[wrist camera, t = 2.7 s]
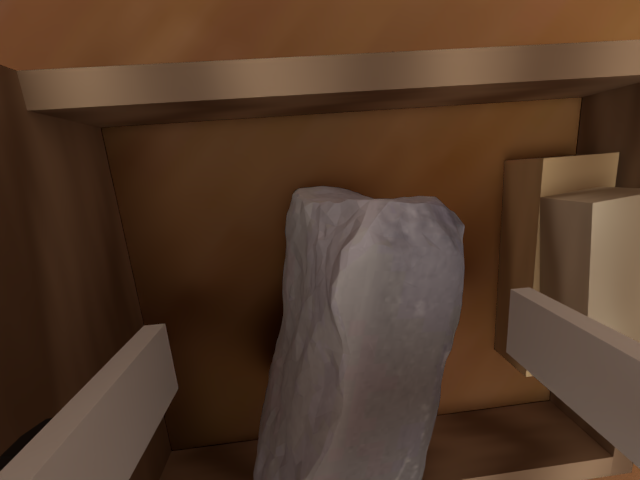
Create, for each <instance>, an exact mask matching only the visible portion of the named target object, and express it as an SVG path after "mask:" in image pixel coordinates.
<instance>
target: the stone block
mask: <svg viewBox="0 0 640 480" xmlns="http://www.w3.org/2000/svg"><path fill="white" fill-rule="evenodd" d="M464 228H465V226H464V224H463V223H462V222H461V220H460V219H459V217H458V216H457V215H456V214H455V213H454V212H453V211H451V210H449V209H448V208H447V207H446V206H445V205H444V204H443V203H442V202H441V201H440V200H439V199H438V198H436V197H429V196H415V197H401V198H395V199H373V198H371V197H367V196H363V195H361V194H359V193H357V192H353V191H350V190H347V189H343V188H338V187H328V186H317V187H308V188H298V189H297V190H295V192H294V193H293V195H292V200H291V204H290V208H289V210H288V212H287V217H286V227H285V236H286V258H285V263H284V270H283V291H282V293H283V319H282V325H281V329H280V333H279V337H278V339H277V342H276V348H275V353H274V356H273V361H272V364H271V366H270V370H269V381H268V386H267V389H266V395H265V402H264V404H263V409H262V415H261V420H260V428H259V439H258V444H257V457H256V462H255V467H254V472H253V478H254V480H422V477H423V473H424V469H425V463H426V455H427V450H428V446H429V443H430V440H431V436H432V432H433V428H434V424H435V420H436V416H437V411H438V407H439V402H440V392H441V381H442V376H443V371H444V367H445V362H446V359H447V357H448V355H449V353H450V351H451V349H452V344H453V339H454V335H455V331H456V328H457V325H458V323H459V318H460V312H461V307H462V294H463V283H464V267H465V266H464V254H463V234H464Z"/></svg>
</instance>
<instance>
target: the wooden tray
mask: <svg viewBox="0 0 640 480" xmlns="http://www.w3.org/2000/svg"><path fill="white" fill-rule="evenodd" d="M577 97H583V98H582V107H581V116H580V126H579V135H578V144H577V154H576V155H584V154H600V153H617V152H620V153H619V160H618V168H617V175H616V183H615V187H622V188H640V40H624V41H604V42H584V43H564V44H544V45H524V46H504V47H484V48H464V49H444V50H423V51H403V52H383V53H363V54H343V55H323V56H303V57H283V58H263V59H243V60H223V61H203V62H183V63H163V64H143V65H123V66H103V67H82V68H62V69H42V70H22V71H16V70H13V69H10V68H8V67H5V66H2V65H0V456H1V455H2V454H3V453H4V452H5V451H6V450H7V449H8V448H9V447H10V446H11V445H12V444H13V443H14V442H15V441H16V440H17V439H18V438H19V437H21V436H22V435H23V434H25V433H26V432H28V431H29V430H31V429H32V428H33V427H35V426H36V425H38V424H39V423H41V422H42V421H44V420H45V419H47V418H53V417H54V416H55V415H56V414H57V413H58V412H59V411H60V410H61V409H62V408H63V407H64V406H65V405H66V404H67V403H68V402H69V401H70V400H71V399H72V398H73V397H74V396H75V395H76V394H77V393H78V392H79V391H80V390H81V389H82V388H83V387H84V386H85V385H86V384H87V383H88V382H89V381H90V380H91V379H92V378H93V377H94V376H95V375H96V374H97V373H98V372H99V371H100V370H101V369H102V368H103V367H104V366H105V365H106V363H107V362H108V361H109V360H110V359H111V358H112V357H113V356H114V355H115V354H116V353H117V352H118V351H119V350H120V349H121V348H122V347H123V346H124V345H125V344H126V343H127V342H128V341H129V340H130V339H131V338H132V337H133V336H134V335H135V334H136V333H137V332H138V331H139V330H140V329H141V328H142V327H143V326H144V323H143V319H142V314H141V310H140V305H139V300H138V296H137V291H136V287H135V282H134V278H133V273H132V269H131V264H130V259H129V255H128V250H127V246H126V241H125V237H124V232H123V228H122V223H121V218H120V214H119V209H118V205H117V200H116V196H115V191H114V187H113V182H112V177H111V173H110V168H109V164H108V159H107V155H106V150H105V146H104V141H103V137H102V132H101V127H116V126H132V125H147V124H163V123H179V122H195V121H211V120H227V119H243V118H259V117H275V116H291V115H307V114H323V113H338V112H354V111H370V110H386V109H402V108H418V107H434V106H450V105H466V104H482V103H498V102H513V101H529V100H545V99H561V98H577ZM257 444H258V440H252V441H245V442H237V443H230V444H222V445H215V446H207V447H200V448H192V449H185V450H177V451H171V446H170V442H169V437H168V432H167V428H166V423H165V419H164V416H163V418H162V420H161V422H160V423H159V425H158V427H157V429H156V431H155V433H154V435H153V436H152V438H151V440H150V442H149V444H148V446H147V447H146V449H145V451H144V453H143V455H142V457H141V458H140V460H139V462H138V464H137V466H136V468H135V470H134V471H133V473H132V475H131V477H130V479H129V480H254V478H253V472H254V467H255V462H256V457H257ZM632 467H633V462H632V461H631V460H629V459H628V458H627V457H626V456H625V455H624V454H622V453H621V452H620V451H619V450H618V449H617V448H616V447H614V446H613V445H612V444H611V443H610V442H609V441H608V440H606V439H605V438H604V437H603V436H602V435H601V434H600V433H598V432H597V431H596V430H595V429H594V428H593V427H592V426H590V425H589V424H588V423H587V422H586V421H585V420H583V419H582V418H581V417H580V416H579V415H578V414H577V413H575V412H574V411H573V410H572V409H571V408H570V407H569V406H567V405H566V404H565V403H564V402H563V401H562V400H561V399H559V398H558V397H557V396H556V395H555V394H554V393H553V392H551V395H550V401H543V402H536V403H528V404H521V405H513V406H506V407H498V408H491V409H483V410H476V411H468V412H461V413H454V414H446V415H439V416H436V420H435V424H434V428H433V432H432V436H431V440H430V443H429V446H428V450H427V455H426V463H425V469H424V473H423V477H422V480H586V479H593V478H599V477H606V476H612V475H619V474H625V473H631V472H632Z"/></svg>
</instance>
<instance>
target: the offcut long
mask: <svg viewBox="0 0 640 480" xmlns="http://www.w3.org/2000/svg"><path fill="white" fill-rule="evenodd" d="M619 153H620V152H617V153H600V154H584V155H568V156H555V157H543V158H530V159H518V160H505V161H504V178H503V196H502V215H501V233H500V251H499V269H498V288H497V306H496V324H495V343H494V349H495V350H496V351H497V352H498V353H499V354H500V355H502V356H503V357H504V358H505V359H506V360H507V361H508V362H509V363H511V364H512V365H513V366H514V367H515V368H516V369H517V370H519V371H520V372H521V373H522V374H523V375H524V376H525V377H529V376H533V375H532V374H531V373H530V372H528V371H527V370H526V369H525V368H524V367H523V366H522V365H520V364H519V363H518V362H517V361H516V360H515V359H514V358H512V357H511V356H510V355H509V354H508V353H507V352H506V347H507V334H508V320H509V306H510V292H511V289H517V288H527V287H530V288H532V289H534V290H536V291H538V292H540V198H541V197H546V196H552V195H557V194H563V193H569V192H574V191H580V190H585V189H591V188H597V187H615V183H616V175H617V168H618V160H619Z"/></svg>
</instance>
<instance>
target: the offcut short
mask: <svg viewBox="0 0 640 480" xmlns="http://www.w3.org/2000/svg"><path fill="white" fill-rule="evenodd" d="M540 293H542V294H544V295H546V296H548V297H550V298H552V299H554V300H556V301H558V302H560V303H562V304H564V305H566V306H568V307H570V308H572V309H574V310H576V311H578V312H580V313H581V314H583V315H585V316H587V317H589V318H591V319H593V320H595V321H597V322H599V323H601V324H603V325H605V326H607V327H609V328H611V329H613V330H615V331H617V332H619V333H621V334H623V335H625V336H627V337H629V338H631V339H633V340H635V341H637V342H639V343H640V188H622V187H597V188H591V189H585V190H580V191H574V192H569V193H563V194H557V195H552V196H546V197H541V198H540Z"/></svg>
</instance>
